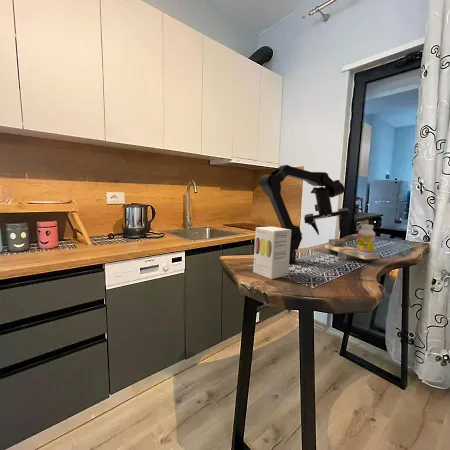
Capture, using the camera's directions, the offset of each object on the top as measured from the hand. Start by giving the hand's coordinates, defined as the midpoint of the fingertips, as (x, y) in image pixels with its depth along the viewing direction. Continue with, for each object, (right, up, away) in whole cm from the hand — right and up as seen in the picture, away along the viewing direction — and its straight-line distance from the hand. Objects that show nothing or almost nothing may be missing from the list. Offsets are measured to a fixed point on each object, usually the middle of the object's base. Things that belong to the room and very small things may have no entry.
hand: (329, 233), depth 117 cm
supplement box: (-31, -14, -24) cm, 42 cm away
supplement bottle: (+14, -9, -3) cm, 17 cm away
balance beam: (+12, -12, +5) cm, 17 cm away
